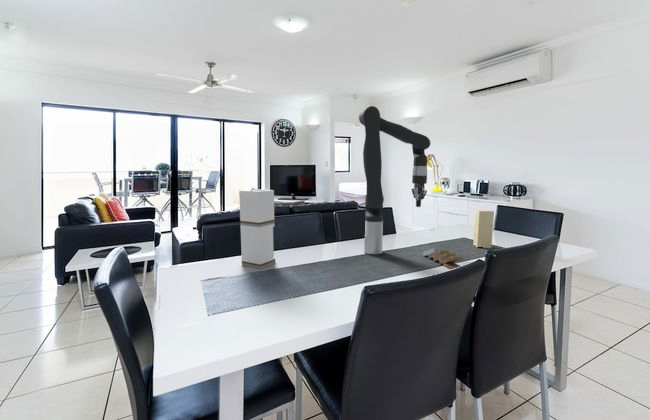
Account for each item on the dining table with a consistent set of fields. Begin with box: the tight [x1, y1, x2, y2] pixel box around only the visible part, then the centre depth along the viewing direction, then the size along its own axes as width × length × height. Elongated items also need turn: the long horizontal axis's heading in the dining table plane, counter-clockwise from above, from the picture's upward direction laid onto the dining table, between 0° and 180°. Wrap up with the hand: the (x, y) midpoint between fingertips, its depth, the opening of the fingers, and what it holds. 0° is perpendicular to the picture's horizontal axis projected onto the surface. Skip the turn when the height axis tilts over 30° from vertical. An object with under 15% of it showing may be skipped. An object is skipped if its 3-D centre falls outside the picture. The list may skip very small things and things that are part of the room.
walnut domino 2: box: [432, 252, 457, 262], centre depth 161 cm, size 2×5×11 cm
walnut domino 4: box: [442, 262, 461, 271], centre depth 153 cm, size 2×5×11 cm
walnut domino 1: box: [427, 249, 450, 259], centre depth 166 cm, size 2×5×11 cm
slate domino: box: [422, 247, 444, 257], centre depth 171 cm, size 2×5×11 cm
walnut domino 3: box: [438, 254, 464, 265], centre depth 157 cm, size 2×5×11 cm
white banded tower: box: [238, 188, 276, 270], centre depth 159 cm, size 11×11×35 cm
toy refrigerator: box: [472, 209, 495, 249], centre depth 193 cm, size 8×7×21 cm
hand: (418, 206), depth 184 cm, fingers closed
